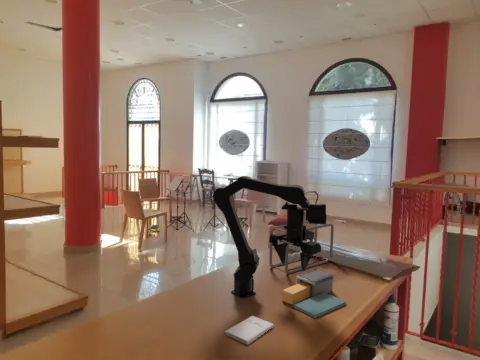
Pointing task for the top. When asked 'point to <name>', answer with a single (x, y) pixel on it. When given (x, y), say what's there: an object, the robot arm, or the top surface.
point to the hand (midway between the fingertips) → (293, 267)
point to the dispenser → (317, 281)
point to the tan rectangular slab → (297, 292)
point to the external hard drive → (249, 329)
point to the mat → (319, 304)
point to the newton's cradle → (296, 256)
